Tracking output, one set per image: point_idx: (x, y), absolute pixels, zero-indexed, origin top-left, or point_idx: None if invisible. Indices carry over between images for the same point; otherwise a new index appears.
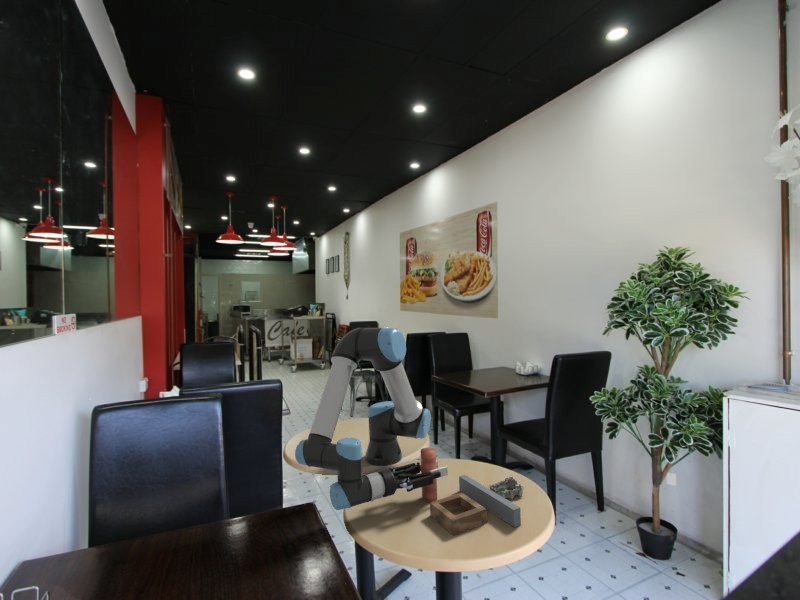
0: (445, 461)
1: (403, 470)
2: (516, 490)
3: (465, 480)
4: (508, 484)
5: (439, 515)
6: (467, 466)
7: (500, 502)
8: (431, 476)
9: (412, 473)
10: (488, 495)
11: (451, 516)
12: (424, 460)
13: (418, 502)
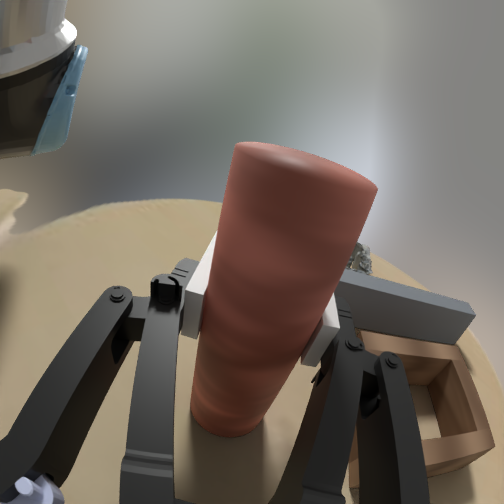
0: (107, 212)
1: (162, 490)
2: (368, 255)
3: None
4: None
5: (428, 470)
6: (172, 213)
7: (447, 309)
8: (402, 368)
9: (174, 397)
10: (412, 302)
11: (480, 441)
12: (324, 266)
13: (217, 463)
